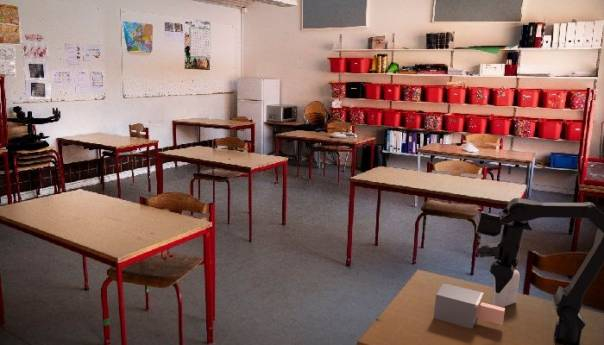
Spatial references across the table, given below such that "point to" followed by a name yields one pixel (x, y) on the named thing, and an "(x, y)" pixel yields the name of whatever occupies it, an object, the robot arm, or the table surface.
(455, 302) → the pale grey box
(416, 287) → the table surface
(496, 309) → the pink rectangular block
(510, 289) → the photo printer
